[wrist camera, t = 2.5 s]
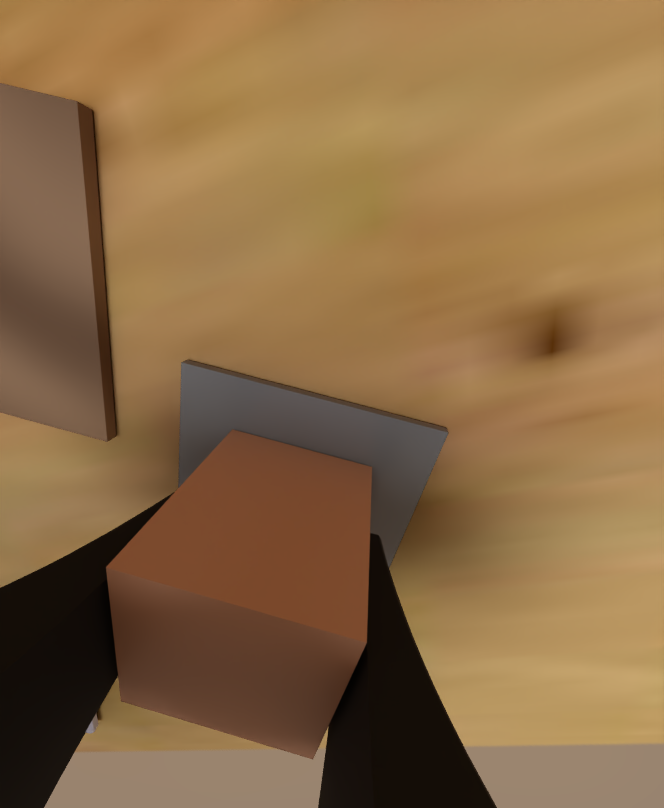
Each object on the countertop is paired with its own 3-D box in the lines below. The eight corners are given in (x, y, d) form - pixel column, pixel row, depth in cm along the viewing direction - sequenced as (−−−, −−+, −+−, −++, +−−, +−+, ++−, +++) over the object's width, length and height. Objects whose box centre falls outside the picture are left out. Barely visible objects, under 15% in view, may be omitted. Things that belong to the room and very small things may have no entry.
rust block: (338, 565, 12) (313, 759, 7) (221, 532, 12) (120, 701, 7) (372, 466, 10) (367, 642, 5) (232, 429, 10) (105, 567, 5)
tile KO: (372, 599, 12) (371, 608, 12) (181, 545, 13) (176, 552, 12) (446, 428, 9) (448, 433, 9) (187, 359, 9) (180, 362, 9)
